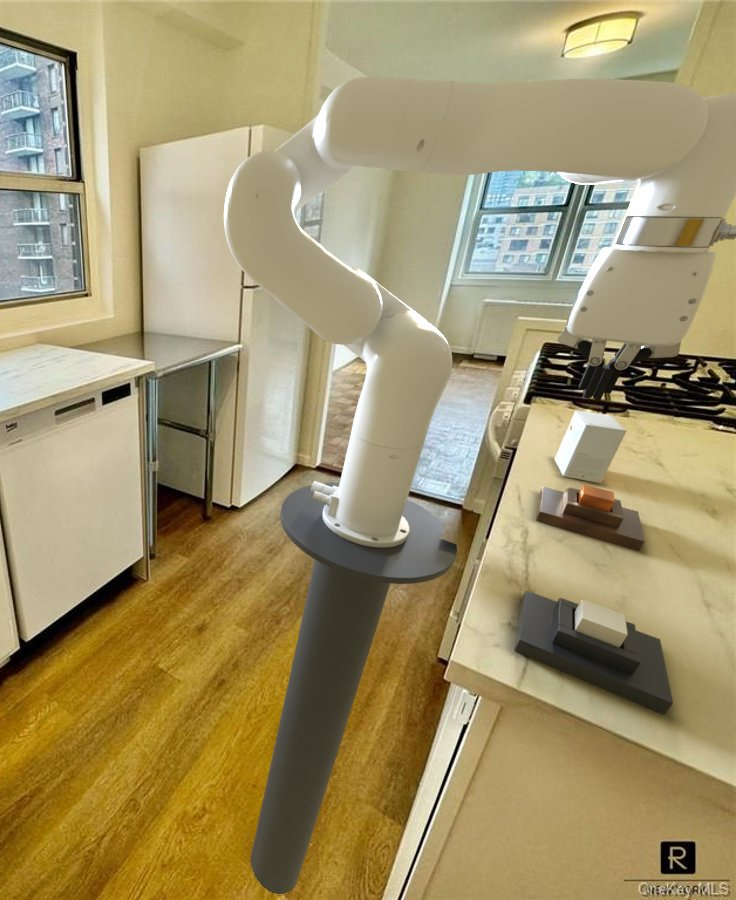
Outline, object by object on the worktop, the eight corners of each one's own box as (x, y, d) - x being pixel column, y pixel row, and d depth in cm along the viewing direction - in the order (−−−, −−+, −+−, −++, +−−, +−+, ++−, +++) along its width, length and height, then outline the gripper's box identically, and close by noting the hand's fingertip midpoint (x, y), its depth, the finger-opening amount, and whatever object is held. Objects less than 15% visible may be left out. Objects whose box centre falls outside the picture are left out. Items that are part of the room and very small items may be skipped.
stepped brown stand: (535, 520, 76) (544, 501, 75) (539, 494, 83) (546, 477, 82) (639, 551, 69) (651, 531, 68) (633, 520, 76) (643, 501, 75)
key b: (578, 504, 75) (583, 493, 74) (578, 495, 77) (583, 484, 76) (608, 513, 73) (615, 501, 72) (607, 503, 75) (613, 491, 74)
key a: (574, 631, 52) (582, 617, 51) (574, 612, 54) (581, 599, 54) (618, 649, 50) (627, 634, 49) (616, 628, 52) (625, 614, 52)
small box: (600, 484, 86) (628, 431, 82) (561, 476, 89) (585, 424, 84) (589, 466, 93) (614, 415, 88) (553, 459, 95) (575, 409, 90)
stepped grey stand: (514, 650, 53) (525, 627, 52) (520, 600, 60) (531, 578, 59) (664, 715, 47) (683, 690, 45) (652, 650, 54) (668, 627, 52)
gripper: (758, 237, 50) (670, 402, 59) (574, 233, 59) (520, 377, 67) (780, 240, 45) (680, 420, 53) (574, 235, 54) (515, 391, 62)
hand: (591, 396), depth 60 cm, fingers closed
